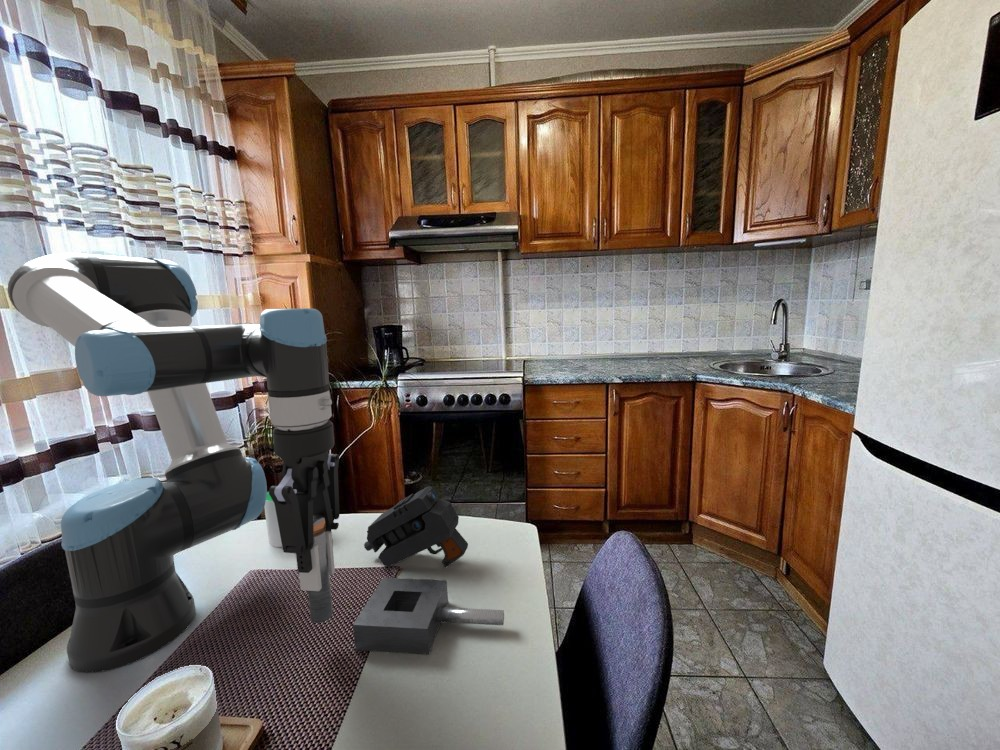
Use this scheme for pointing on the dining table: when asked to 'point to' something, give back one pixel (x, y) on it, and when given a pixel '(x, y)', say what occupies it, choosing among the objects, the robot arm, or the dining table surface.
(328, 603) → the grey metal rod
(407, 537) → the toy gun
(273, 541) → the mug
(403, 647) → the grey holed block
